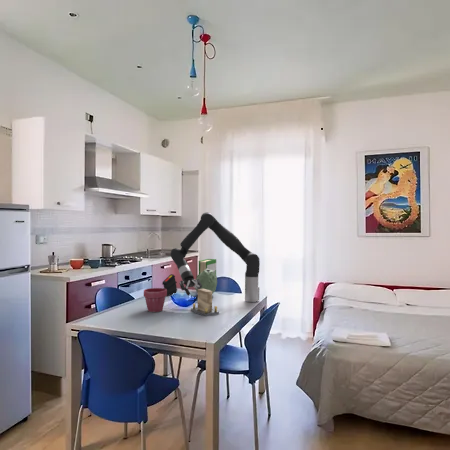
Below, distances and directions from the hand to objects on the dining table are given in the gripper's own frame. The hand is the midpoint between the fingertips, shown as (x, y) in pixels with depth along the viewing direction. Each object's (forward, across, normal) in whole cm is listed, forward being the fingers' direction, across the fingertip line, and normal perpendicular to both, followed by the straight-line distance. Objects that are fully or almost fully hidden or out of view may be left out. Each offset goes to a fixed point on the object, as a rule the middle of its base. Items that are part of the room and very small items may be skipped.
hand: (194, 294), depth 229 cm
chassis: (+15, 0, -2) cm, 15 cm away
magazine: (-26, +6, +40) cm, 48 cm away
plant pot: (0, -22, +14) cm, 26 cm away
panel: (+14, 0, -3) cm, 14 cm away
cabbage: (-13, +26, +26) cm, 39 cm away
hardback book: (-27, +41, +41) cm, 64 cm away
